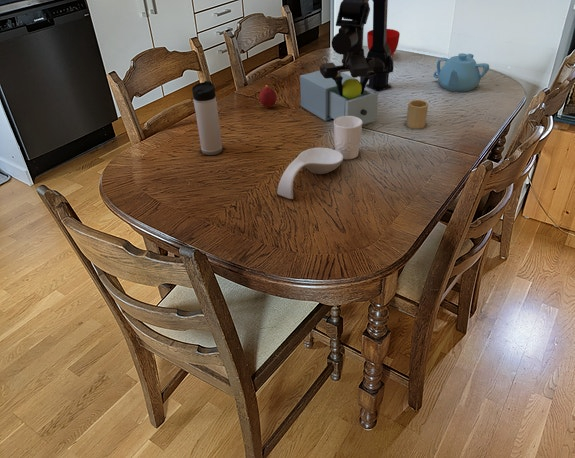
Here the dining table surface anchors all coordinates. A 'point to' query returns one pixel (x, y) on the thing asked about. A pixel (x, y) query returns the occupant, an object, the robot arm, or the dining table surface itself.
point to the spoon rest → (309, 167)
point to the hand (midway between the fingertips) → (351, 95)
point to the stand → (417, 114)
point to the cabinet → (317, 92)
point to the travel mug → (207, 118)
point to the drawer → (353, 106)
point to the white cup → (347, 136)
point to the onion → (267, 97)
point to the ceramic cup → (391, 39)
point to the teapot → (460, 73)
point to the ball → (351, 88)
